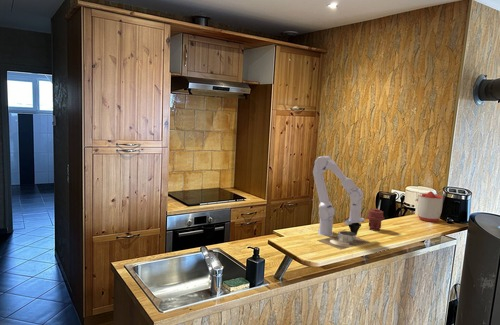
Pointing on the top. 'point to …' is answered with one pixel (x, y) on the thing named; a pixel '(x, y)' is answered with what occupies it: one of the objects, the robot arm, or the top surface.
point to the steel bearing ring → (346, 237)
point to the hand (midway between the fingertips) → (353, 236)
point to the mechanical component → (375, 219)
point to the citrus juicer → (429, 207)
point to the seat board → (335, 243)
